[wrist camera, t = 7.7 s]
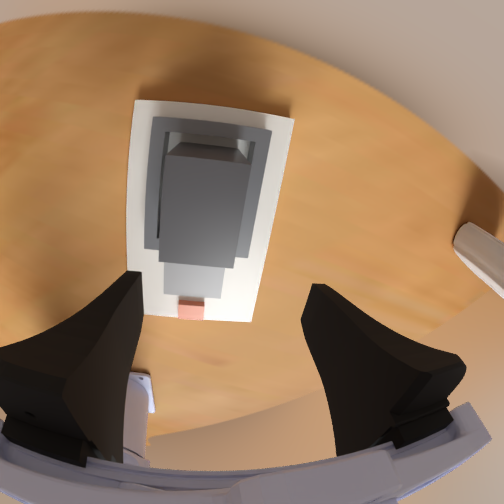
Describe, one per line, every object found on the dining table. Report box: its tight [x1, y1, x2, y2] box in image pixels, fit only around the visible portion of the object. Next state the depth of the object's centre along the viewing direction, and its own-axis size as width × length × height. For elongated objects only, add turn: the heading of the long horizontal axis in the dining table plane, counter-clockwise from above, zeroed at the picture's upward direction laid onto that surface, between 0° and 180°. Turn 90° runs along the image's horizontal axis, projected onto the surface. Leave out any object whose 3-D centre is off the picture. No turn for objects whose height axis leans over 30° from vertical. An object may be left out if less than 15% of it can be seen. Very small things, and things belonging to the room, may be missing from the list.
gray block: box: [159, 142, 252, 269], centre depth 15 cm, size 4×5×6 cm
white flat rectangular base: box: [126, 100, 295, 322], centre depth 18 cm, size 10×16×3 cm, turn 170°
